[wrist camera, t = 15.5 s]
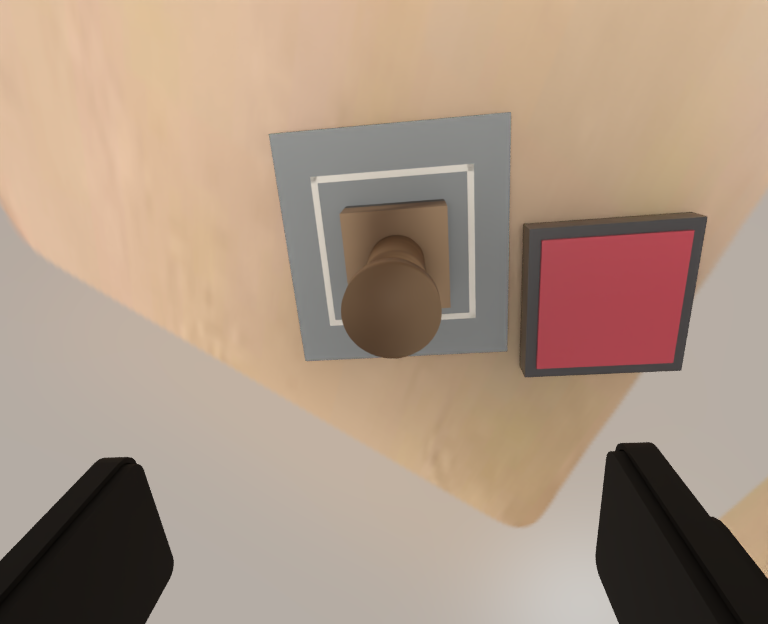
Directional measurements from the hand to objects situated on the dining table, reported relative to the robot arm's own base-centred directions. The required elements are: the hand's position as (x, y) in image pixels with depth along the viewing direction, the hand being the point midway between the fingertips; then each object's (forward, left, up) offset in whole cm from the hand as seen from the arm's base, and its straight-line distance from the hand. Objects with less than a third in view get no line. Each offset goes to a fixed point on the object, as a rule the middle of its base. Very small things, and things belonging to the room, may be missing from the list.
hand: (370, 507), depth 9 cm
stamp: (0, 0, -21) cm, 21 cm away
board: (0, 0, -22) cm, 22 cm away
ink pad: (-13, +4, -22) cm, 26 cm away
